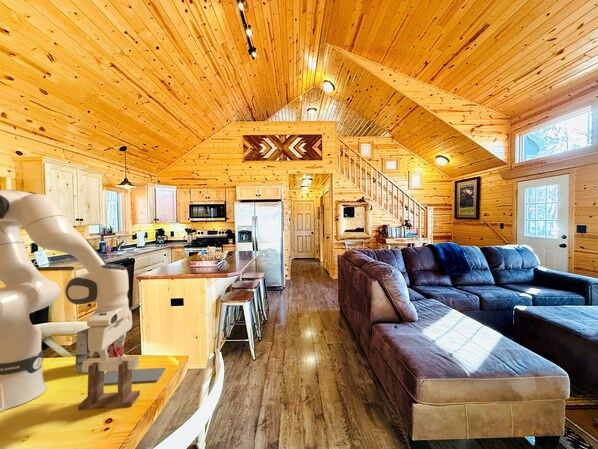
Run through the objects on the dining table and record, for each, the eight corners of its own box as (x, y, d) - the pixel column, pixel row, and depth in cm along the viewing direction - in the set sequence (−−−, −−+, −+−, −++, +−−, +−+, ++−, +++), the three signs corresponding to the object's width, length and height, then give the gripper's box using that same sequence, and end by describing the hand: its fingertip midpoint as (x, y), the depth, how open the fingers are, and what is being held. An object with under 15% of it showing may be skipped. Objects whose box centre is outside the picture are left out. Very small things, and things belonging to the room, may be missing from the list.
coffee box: (87, 373, 105) (88, 333, 105) (74, 371, 106) (75, 332, 107) (108, 362, 114) (109, 325, 114) (96, 360, 115) (97, 324, 116)
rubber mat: (93, 386, 97) (93, 383, 97) (107, 372, 106) (107, 370, 106) (156, 382, 100) (156, 379, 100) (165, 369, 109) (165, 367, 109)
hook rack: (77, 410, 84) (79, 366, 85) (89, 398, 90) (91, 357, 90) (131, 406, 87) (132, 364, 87) (139, 394, 93) (140, 355, 93)
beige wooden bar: (82, 372, 86) (82, 362, 86) (88, 367, 89) (88, 358, 89) (134, 369, 88) (134, 360, 88) (138, 364, 91) (138, 355, 91)
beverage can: (103, 369, 108) (104, 340, 108) (111, 362, 114) (112, 335, 114) (118, 369, 109) (119, 340, 109) (126, 362, 115) (126, 334, 115)
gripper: (119, 303, 99) (119, 340, 99) (83, 323, 79) (82, 369, 78) (137, 303, 100) (137, 339, 99) (106, 322, 79) (105, 367, 79)
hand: (112, 352), depth 89 cm, fingers open, 8 cm apart
